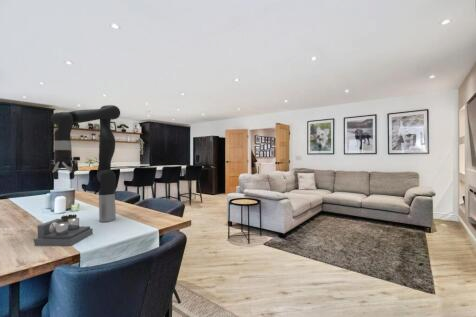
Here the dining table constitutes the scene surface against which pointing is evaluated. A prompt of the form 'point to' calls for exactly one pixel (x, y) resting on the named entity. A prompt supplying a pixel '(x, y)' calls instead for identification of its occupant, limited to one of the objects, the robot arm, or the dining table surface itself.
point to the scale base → (49, 228)
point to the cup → (68, 217)
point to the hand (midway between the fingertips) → (64, 179)
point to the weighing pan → (67, 236)
